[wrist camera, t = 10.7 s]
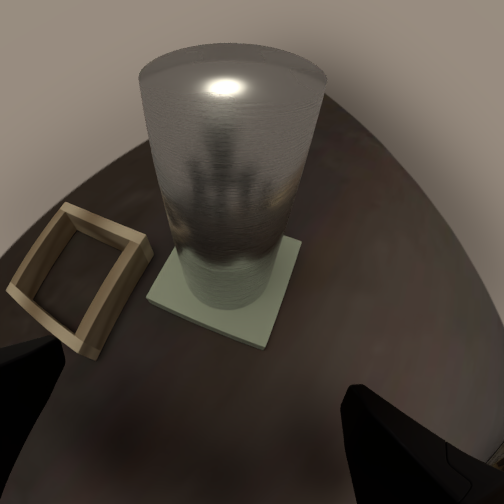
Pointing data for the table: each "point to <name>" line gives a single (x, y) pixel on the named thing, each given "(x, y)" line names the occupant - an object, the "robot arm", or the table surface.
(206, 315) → the green pad
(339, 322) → the table surface
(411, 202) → the table surface
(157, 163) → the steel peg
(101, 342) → the wooden square frame
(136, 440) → the table surface
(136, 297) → the table surface
